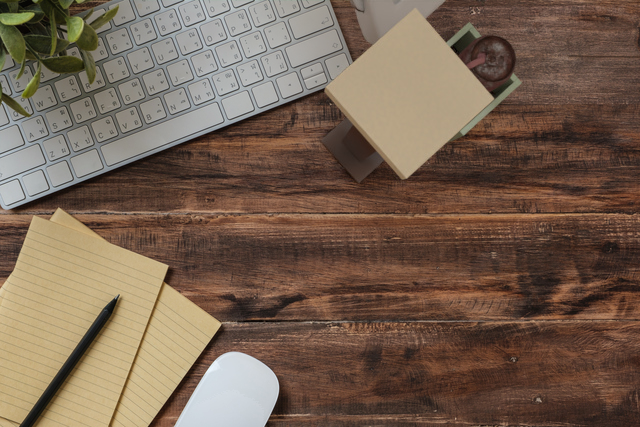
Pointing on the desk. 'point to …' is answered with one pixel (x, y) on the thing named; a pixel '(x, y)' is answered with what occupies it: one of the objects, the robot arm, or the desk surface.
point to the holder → (501, 92)
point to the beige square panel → (408, 94)
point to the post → (352, 150)
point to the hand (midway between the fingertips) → (454, 25)
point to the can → (490, 60)
